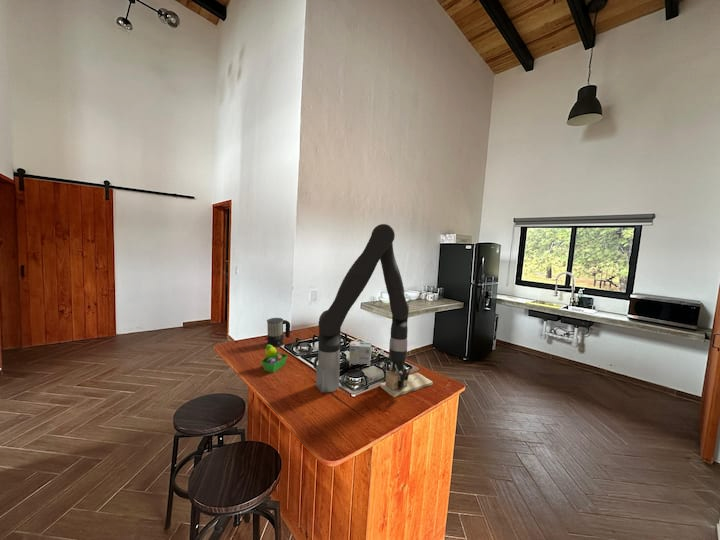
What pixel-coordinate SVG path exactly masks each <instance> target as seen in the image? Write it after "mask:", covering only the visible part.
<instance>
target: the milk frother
mask: <svg viewBox="0 0 720 540" xmlns="http://www.w3.org/2000/svg"><path fill="white" fill-rule="evenodd" d="M266 322H267V343H266V346H267V345H269V344H270V345H272V346H273V347H274V348H278V347H282V346H283V345H284V335H285V337H286V338H290V337H291V336H290V335H291V323H290V321H288V320H286V319H284V318H282V317H270V318H268V319H267V320H266ZM284 325H285V332H284ZM284 333H285V334H284Z"/></svg>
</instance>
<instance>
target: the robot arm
mask: <svg viewBox="0 0 720 540" xmlns="http://www.w3.org/2000/svg"><path fill="white" fill-rule="evenodd" d="M370 234H371V235H370V237H369V240H368V242H367V243H366V246H365V247H364V250H362V252H361V254H360V255H359V256H358V257H357V259H355V261H353V264H351V266H350V268H349V269H348V270H347V272H346V275H345V276H344V277H343V278H342V279H343V280H342V282H341V284H340V286H339V288H338V290H337V293H336V296H335V298H334V300H333V302H332V304H331V305H330V307H329V308H328V309H326V310H325V311H323V312H322V313H321V314H320V315H319V319H318V329H319V330H318V350H317V351H318V357H317V359H318V360H317V365H316V366H315V367H316V368H315V369H316V370H315V387H316V388H317V389H318V390H319V391H320V393H333V392H336V391H337V390H338V389H339V388H340V372H341V371H340V368H341V366H340V365H341V329H342V326H343V323H344V321H345V320H346V317H347V316H348V314H349V311H350V309H351V308H352V306H353V305H354V304H355V303H356V302H357V300H358V299H359V297H360V295H361V294H362V292H363V291H364V289H365V288H366V286H367V284H368V283H369V281H370V279H371V277H372V275H373V274H374V271H375V269H376V267H377V265H378V263H379V261H380V265H381V268H382V274H383V278H384V280H383V281H384V284H385V288H386V291H387V292H386V293H387V294H388V299H389V306H390V312H391V319H392V320H391V328H390V338H389V345H388V347H389V348H388V356H387V357H385V365H386V372H389V371H393V370H396V373H397V375H398V379H399V380H398V388H399V389H401V388H403V385H404V381H405V380H408V376H409V375H410V372H411V367H407V366H406V360H407V358H408V357H407V356H408V329H409V328H408V320H409V313H410V307H409V304H408V303H407V299H406V296H405V287H404V283H403V279H402V275H401V273H400V269H399V267H398V264H397V261H396V257H395V253H394V247H393V246H394V245H393V243H394V240H395V231H394V229H393V227H392V226H391V225H389V224H386V223H381V224H378V225H376V226H375V227H374V228H373V230H372V231H371V233H370ZM399 371H402V372H399ZM401 374H402V377H401Z"/></svg>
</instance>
